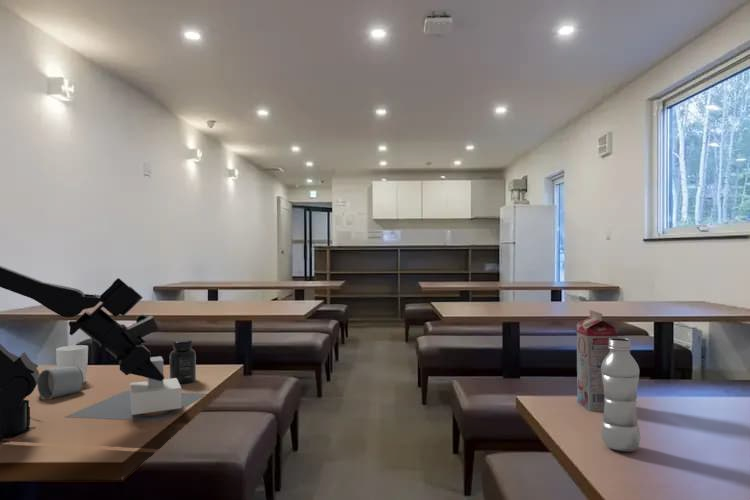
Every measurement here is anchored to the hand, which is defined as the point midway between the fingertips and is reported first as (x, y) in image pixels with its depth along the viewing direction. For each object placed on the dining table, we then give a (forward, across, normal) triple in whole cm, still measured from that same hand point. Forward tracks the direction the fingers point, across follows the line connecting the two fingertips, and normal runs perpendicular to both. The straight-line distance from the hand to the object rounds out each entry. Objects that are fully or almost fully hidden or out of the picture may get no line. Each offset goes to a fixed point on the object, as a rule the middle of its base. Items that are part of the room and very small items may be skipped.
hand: (161, 376), depth 115 cm
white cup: (-8, +42, +20) cm, 47 cm away
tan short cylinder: (+4, 0, +6) cm, 8 cm away
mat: (+3, +8, +9) cm, 12 cm away
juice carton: (+70, -44, -58) cm, 101 cm away
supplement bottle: (+11, +26, +1) cm, 28 cm away
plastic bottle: (+57, -63, -46) cm, 97 cm away
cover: (+4, 0, +5) cm, 6 cm away
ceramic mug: (-10, +29, +22) cm, 38 cm away
